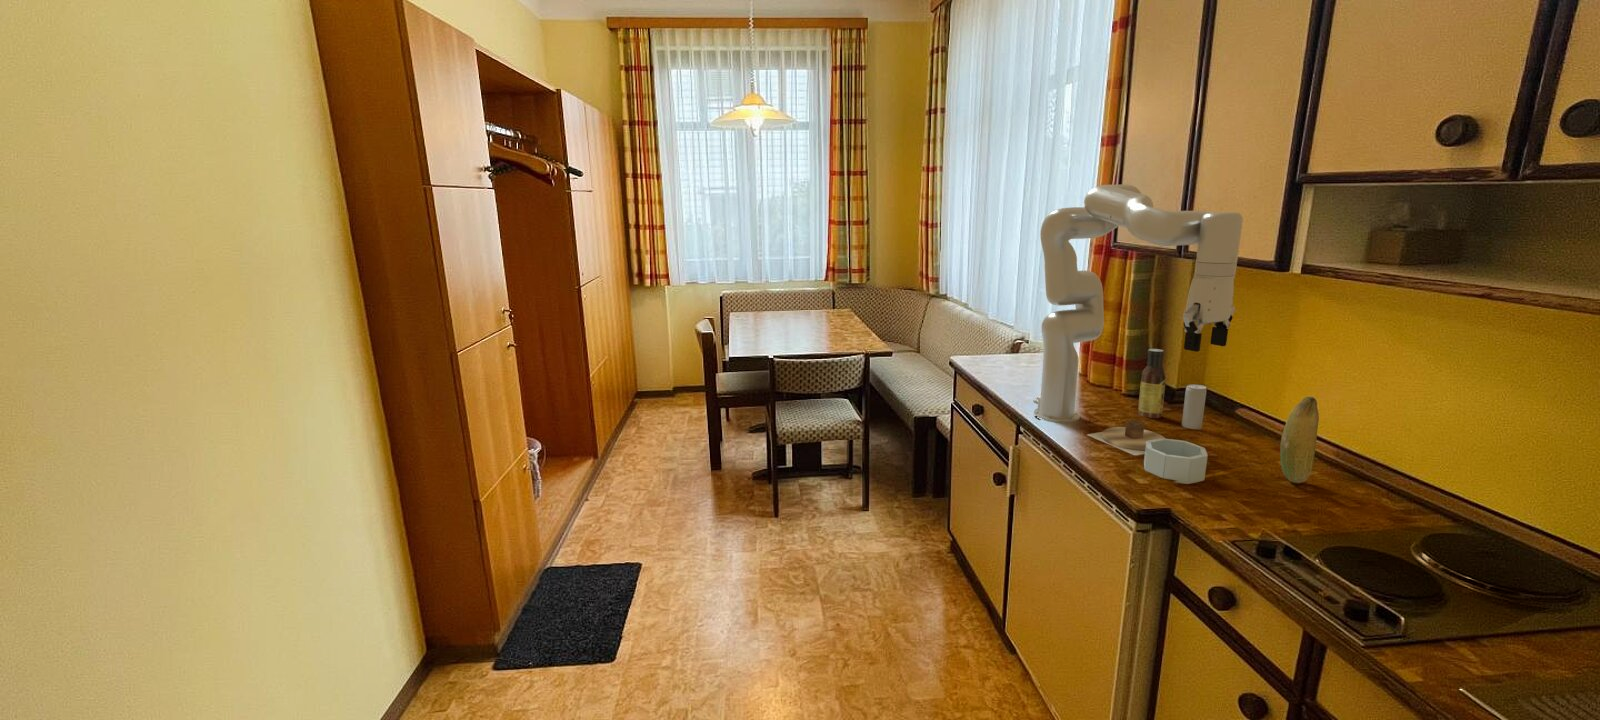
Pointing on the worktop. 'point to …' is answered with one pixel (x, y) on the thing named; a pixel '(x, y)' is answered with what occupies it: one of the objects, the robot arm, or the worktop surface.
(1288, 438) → the vegetable
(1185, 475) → the bowl
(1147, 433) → the lid
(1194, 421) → the beverage can
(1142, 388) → the sauce bottle
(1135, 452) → the mat
